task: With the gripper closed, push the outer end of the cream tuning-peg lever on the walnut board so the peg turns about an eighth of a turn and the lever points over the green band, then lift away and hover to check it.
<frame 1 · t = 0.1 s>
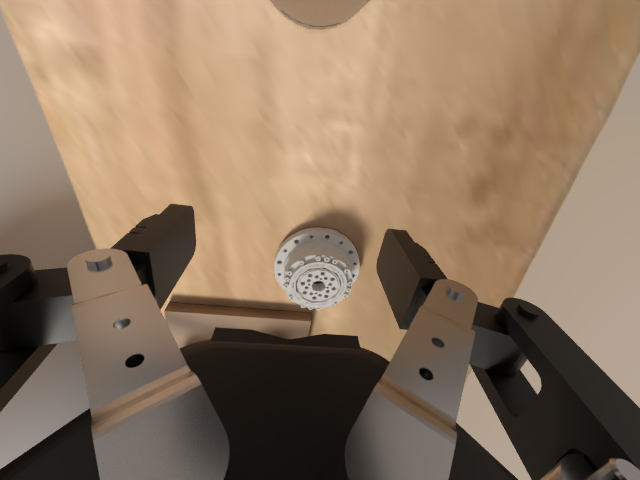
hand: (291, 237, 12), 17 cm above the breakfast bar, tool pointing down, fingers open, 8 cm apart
mechanical component: (316, 261, 34), on the breakfast bar
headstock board: (240, 352, 42), on the breakfast bar
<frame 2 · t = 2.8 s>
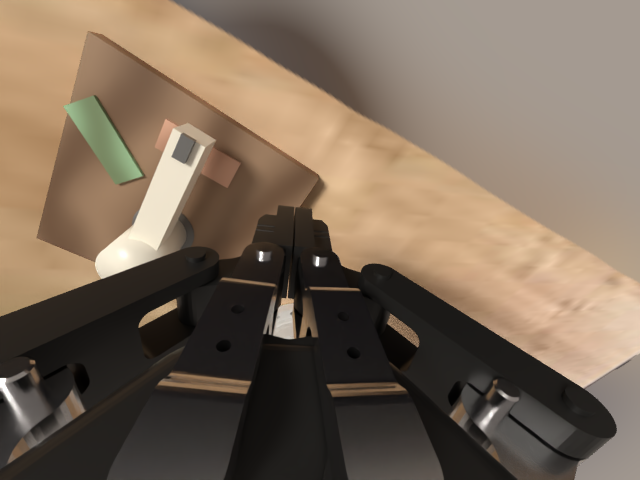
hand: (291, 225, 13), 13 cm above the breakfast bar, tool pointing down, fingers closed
mechanical component: (298, 331, 35), on the breakfast bar
peg: (165, 206, 21), point 5 cm above the breakfast bar, hinge at 0.0°
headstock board: (180, 202, 26), on the breakfast bar
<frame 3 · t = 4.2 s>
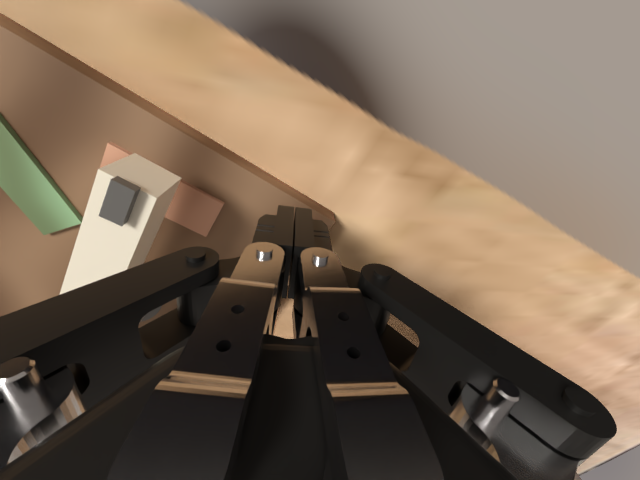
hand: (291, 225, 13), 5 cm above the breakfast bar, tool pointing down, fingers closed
peg: (110, 274, 14), point 5 cm above the breakfast bar, hinge at 0.0°
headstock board: (144, 251, 19), on the breakfast bar
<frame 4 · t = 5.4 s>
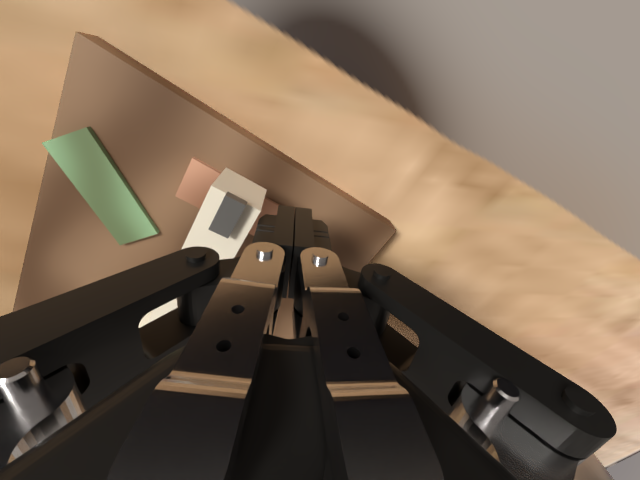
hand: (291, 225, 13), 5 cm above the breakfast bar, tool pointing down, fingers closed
peg: (192, 283, 15), point 5 cm above the breakfast bar, hinge at 1.2°, touching gripper
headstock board: (205, 259, 19), on the breakfast bar
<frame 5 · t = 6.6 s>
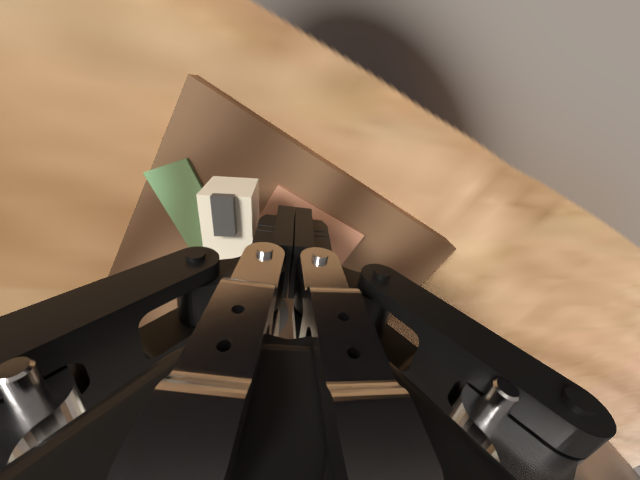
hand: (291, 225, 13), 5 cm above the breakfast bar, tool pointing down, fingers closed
peg: (240, 294, 15), point 5 cm above the breakfast bar, hinge at 28.8°, touching gripper
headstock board: (270, 275, 20), on the breakfast bar
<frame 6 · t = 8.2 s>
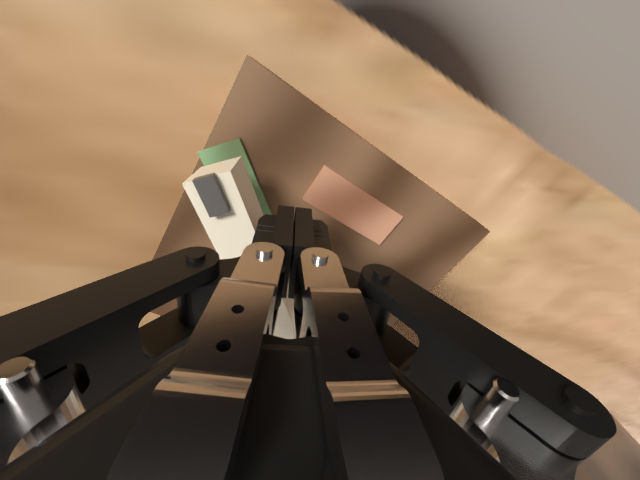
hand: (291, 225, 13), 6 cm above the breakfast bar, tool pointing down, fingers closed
peg: (263, 273, 16), point 5 cm above the breakfast bar, hinge at 47.3°
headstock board: (305, 257, 21), on the breakfast bar
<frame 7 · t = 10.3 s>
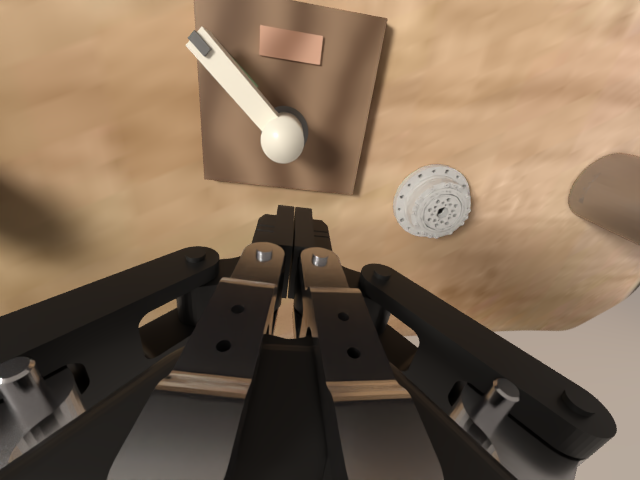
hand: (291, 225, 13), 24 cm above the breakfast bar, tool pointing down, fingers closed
mechanical component: (427, 199, 39), on the breakfast bar
peg: (252, 100, 27), point 5 cm above the breakfast bar, hinge at 47.3°
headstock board: (287, 106, 32), on the breakfast bar
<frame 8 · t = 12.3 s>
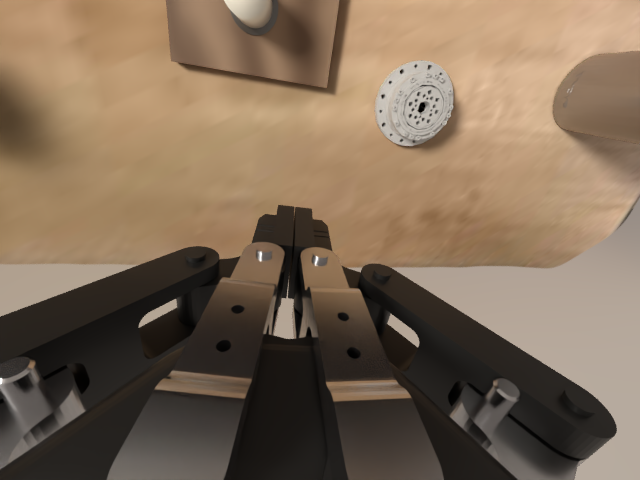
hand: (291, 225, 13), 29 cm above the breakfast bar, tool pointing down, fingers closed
mechanical component: (410, 105, 38), on the breakfast bar
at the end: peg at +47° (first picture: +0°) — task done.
